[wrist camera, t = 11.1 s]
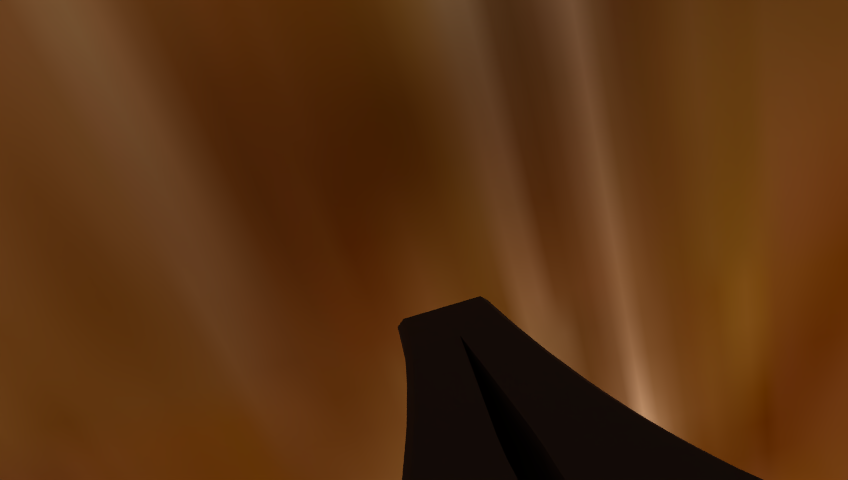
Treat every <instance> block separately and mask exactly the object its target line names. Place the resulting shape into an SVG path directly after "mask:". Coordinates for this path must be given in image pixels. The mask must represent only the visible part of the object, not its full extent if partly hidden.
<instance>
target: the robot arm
mask: <svg viewBox="0 0 848 480" xmlns="http://www.w3.org/2000/svg"><path fill="white" fill-rule="evenodd" d="M398 330H399V334H400V339H401V343H402V347H403V351H404V355H405V361H406V374H407V429H406V442H405V453H404V465H403V476H402V480H763V479H761V478H758V477H756V476H754V475H752V474H749V473H747V472H745V471H743V470H740V469H738V468H736V467H734V466H732V465H730V464H728V463H726V462H724V461H722V460H720V459H719V458H717V457H715V456H713V455H711V454H709V453H707V452H705V451H703V450H701V449H699V448H697V447H695V446H693V445H692V444H690V443H688V442H686V441H684V440H683V439H681V438H679V437H677V436H675V435H674V434H672V433H670V432H668V431H666V430H665V429H663V428H661V427H659V426H658V425H656V424H654V423H653V422H651V421H649V420H648V419H646V418H644V417H643V416H641V415H639V414H638V413H636V412H635V411H633V410H631V409H630V408H628V407H627V406H625V405H624V404H622V403H621V402H619V401H618V400H616V399H614V398H613V397H611V396H610V395H608V394H607V393H605V392H604V391H602V390H601V389H599V388H598V387H596V386H595V385H594V384H592V383H591V382H589V381H588V380H586V379H585V378H584V377H582V376H581V375H579V374H578V373H577V372H575V371H574V370H573V369H571V368H570V367H569V366H567V365H566V364H564V363H563V362H562V361H560V360H559V359H558V358H556V357H555V356H554V355H552V354H551V353H550V352H548V351H547V350H546V349H545V348H543V347H542V346H541V345H539V344H538V343H537V342H536V341H534V340H533V339H532V338H531V337H530V336H528V335H527V334H526V333H525V332H523V331H522V330H521V329H520V328H519V327H517V326H516V325H515V324H514V323H513V322H512V321H510V320H509V319H508V318H507V317H506V316H505V315H504V314H502V313H501V312H500V311H499V310H498V309H497V308H496V307H495V306H493V305H492V304H491V303H490V302H489V301H488V300H486V299H484V298H483V297H481V296H479V297H476V298H473V299H469V300H466V301H463V302H459V303H456V304H453V305H449V306H446V307H442V308H439V309H436V310H432V311H429V312H426V313H422V314H419V315H416V316H412V317H409V318H405V319H403V321H402V322H401V323H400V325H399V326H398Z"/></svg>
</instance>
